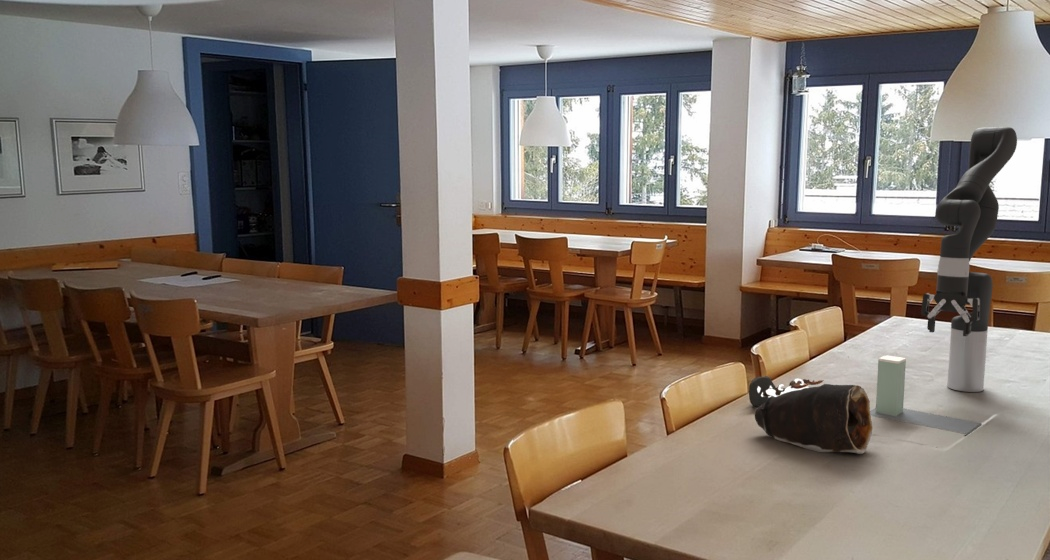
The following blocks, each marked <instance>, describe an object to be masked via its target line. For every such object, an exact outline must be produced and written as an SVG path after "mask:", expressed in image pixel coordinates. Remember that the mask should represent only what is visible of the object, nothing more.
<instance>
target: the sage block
mask: <svg viewBox="0 0 1050 560" xmlns="http://www.w3.org/2000/svg"><path fill="white" fill-rule="evenodd" d="M906 364H907V358H905V357H900V356H894V355H887V354H886V355H883V356H880V357H878V363H877V376H876V377H877V378H876V379H877V380H876V381H877V382H876V397H875V398H876V400H875V408H876V412H877V413H882V414H887V415H893V416H897V415H898V414H900V413H902V412H903V408H904V399H905V397H904V396H905V381H906V380H905V379H906V368H907V367H906Z"/></svg>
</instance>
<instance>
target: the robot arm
mask: <svg viewBox="0 0 1050 560" xmlns="http://www.w3.org/2000/svg"><path fill="white" fill-rule="evenodd" d="M969 142H970V143H969V144H970V145H969V153H968V154H969V155H968V165H967V170H966V171H965V172H964V174H963V175H962V176H961V178H960V179H959V181H958V183H957V185H956V187H955V188H953V189H952V190H951V191H950V192H949V193H948V194H947V195H945V196H944V197H943V198H942V199H941V200H940V201H939V203H938V204H937V207H936V209H935V219H936V221H937V222H938V223H939V224H940V225H942V226H947V227H949V226H950V227H958V232H957V233H953V234H947V235H944V236H942V238H941V241H940V251H939V252H940V253H939V261H938V264H937V266H938V267H937V276H936V277H937V278H936V291H935V292H936V293H935V294H931V293H929V292H927V293H924V294H923V296H922V301H921V302H922V303H921V310H920V315H921V316H924V317H926V318H927V326H926V327H927V328H926V329H927V331H929V333H934V332H935V329H936V328H935V327H936V316H937V315H938V314H939V313H941V311H942V312H951V313H953V314H954V313H958V314H959V315H956V316H954V317H952V319H951V321H950V323H951V324H950V339H949V353H948V354H949V355H948V368H947V369H948V370H947V385H946V386H947V388H948V389H952V390H955V391H959V392H966V393H968V392H969V393H977V392H982V391H984V384H985V375H986V374H985V373H986V360H987V359H986V358H987V348H988V347H987V345H988V330H989V329H988V327H989V321H990V311H991V310H990V309H991V304H992V295H993V285H994V284H993V279H992V276H991V275H990V274H989V273H984V272H974V271H970V262H971V260H972V258H973V256H974V255H975V253H976V252H977V251H978V250H979V248H981V246H983V244H984V243H986V241H987V240H988V239H989V238H990V237H991V236H992V235H993V233H994V231H995V229H996V227H997V222H998V217H999V207H1000V206H999V205H1000V204H999V201H998V199H997V197H996V195H995V193H994V190H993V189H992V188H991V186H990V183H991V182H992V181H993V179H994V178H995V177H996V176H997V174H999V172H1001V170H1002V169H1003V168H1004V167H1005V165H1007V163H1008V162H1009V161H1010V160H1011V158H1012V157H1013V155H1014V154H1015V152H1016V149H1017V145H1018V137H1017V132H1016V130H1015V129H1014V128H1012V127H1009V126H991V127H979V128H976V129H975V130H974V131H973V132H972V135H971V137H970V141H969ZM933 300H934V302H935V304H936V305H935V306H934V308H932V310H929V309H930V303H931V302H933ZM966 305H968V306H970V307H972V309H971V310H972V311H970V312H969V311H968V309H967V308H966Z"/></svg>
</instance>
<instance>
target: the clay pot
mask: <svg viewBox="0 0 1050 560" xmlns="http://www.w3.org/2000/svg"><path fill="white" fill-rule="evenodd" d="M808 387H809V388H805V387H804V389H801V390H795V391H791V392H787V393H784V394H781V395H779V396H777V397H769V398H768V399H767V401H766V402H765V403H764V404H762V405H760V406H759V407H756V409H755V410H754V419H755V421H756V424H757V425H758V427H760V428H761V429H762V430H763V432H765V434H766V435H768V436H769V437H771V438H773V439H775V440H776V441H778V442H784V443H789V444H792V445H794V446H798V447H801V448H804V449H806V450H810V451H813V452H814V451H815V452H819V453H851V454H852V453H854V454H857V455H859V454H860V455H861V454H864V453H865V452H866V451H867V448H868V446H869V444H870V441H871V437H872V436H873V422H872V416H871V415H870V411H871V405H870V404H871V403H870V402H871V400H870V399H869V396H868V395H867V393H866V391H865V388H863V387H862V386H861V385H858V384H830V383H824V384H822V385H819V386H812V387H810V386H808Z"/></svg>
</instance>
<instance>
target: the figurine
mask: <svg viewBox="0 0 1050 560" xmlns="http://www.w3.org/2000/svg"><path fill="white" fill-rule="evenodd" d="M823 382H824V380H822V379H821V380H820V379H819V380H818V381H815V380H814V379H813V380H812V381H811V380H810V379H806V378H804V379H801V378H795V379H794V380H791V381H790V382H789V384H788V386H787V387H785V385H784V384H782V383H781V384H779V385H777V387H776V385H775V384H774V383H773V380H772V379H771V377H769V376H768V375H765V376H757V377H754V378H753V379H752V380H751V382H750V384H749V387H748V397H749V398H748V399H749V402H750V404H751V405H752V407H754V408H758V407H759V406H761V405H762V404H764V403H765V402H766V401H767V399H768V398H769V397H777V396H779V395H781V394H784V393H787V392H791V391H795V390H801V389H804V388H809V387H810V386H815V385H819V384H822V383H823ZM809 385H810V386H809Z"/></svg>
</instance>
